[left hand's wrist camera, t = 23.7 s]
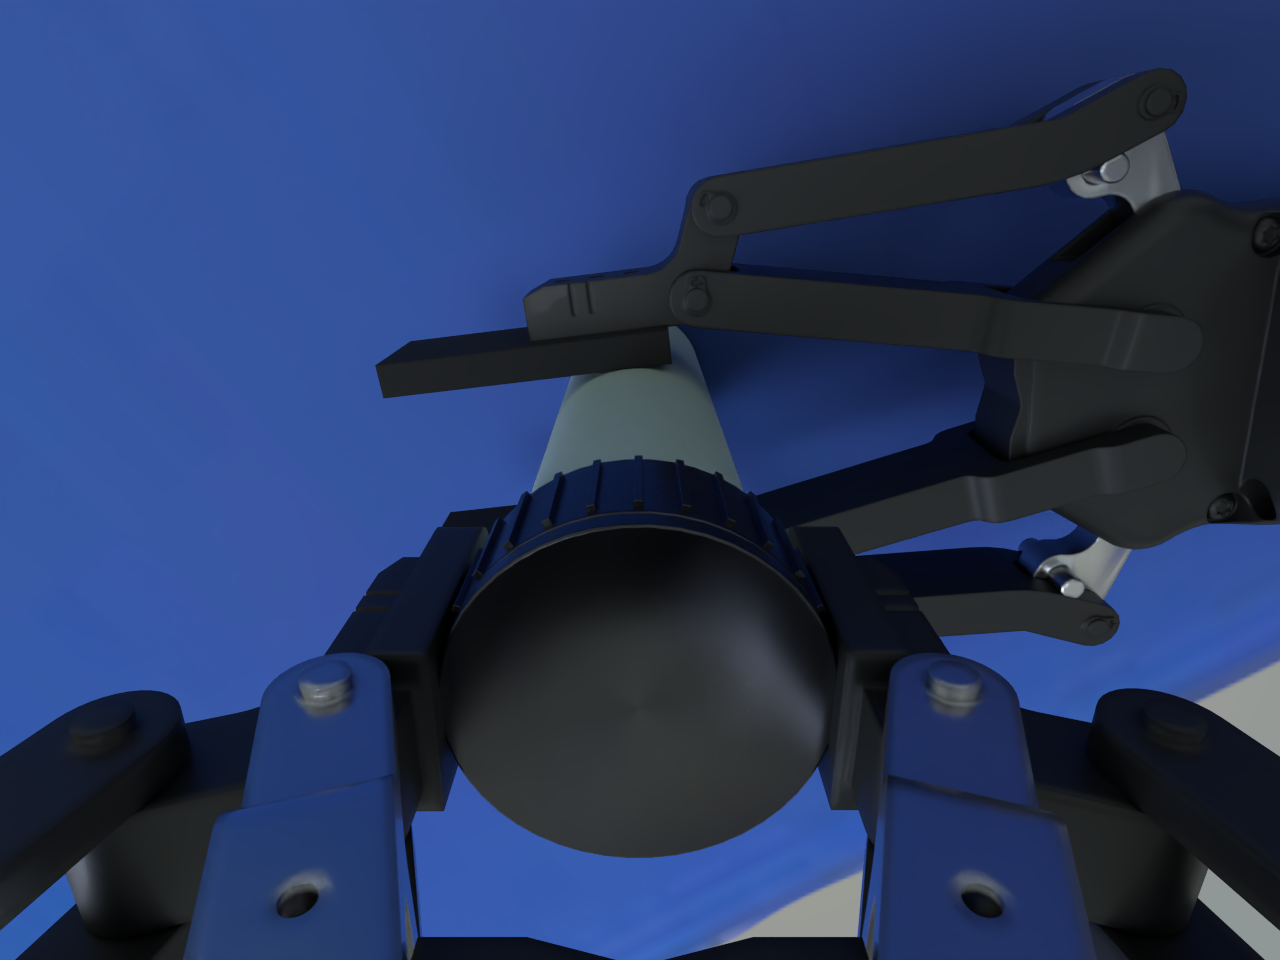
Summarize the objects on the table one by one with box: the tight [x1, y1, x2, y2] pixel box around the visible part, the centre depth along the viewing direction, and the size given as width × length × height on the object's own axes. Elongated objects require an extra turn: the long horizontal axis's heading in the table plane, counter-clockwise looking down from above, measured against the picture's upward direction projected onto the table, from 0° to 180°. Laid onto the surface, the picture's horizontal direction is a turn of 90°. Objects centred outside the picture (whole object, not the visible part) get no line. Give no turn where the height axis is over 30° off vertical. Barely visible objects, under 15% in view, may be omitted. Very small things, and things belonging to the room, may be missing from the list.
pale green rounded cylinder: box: [532, 326, 744, 493], centre depth 17 cm, size 4×4×16 cm
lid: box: [439, 455, 837, 858], centre depth 10 cm, size 5×5×2 cm
